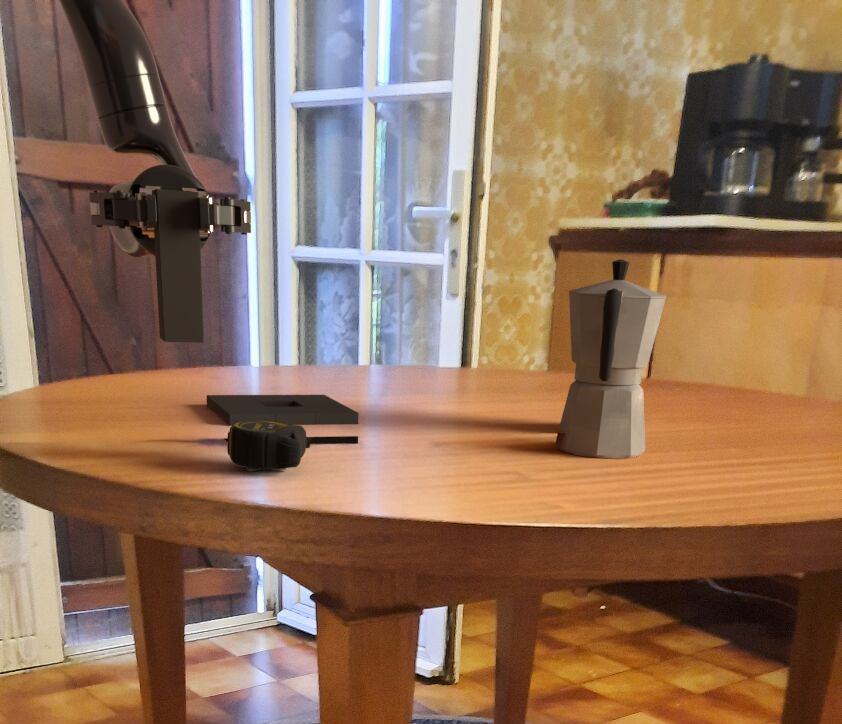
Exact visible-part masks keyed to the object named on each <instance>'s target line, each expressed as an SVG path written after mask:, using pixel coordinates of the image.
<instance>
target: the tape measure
mask: <svg viewBox="0 0 842 724" xmlns="http://www.w3.org/2000/svg"><path fill="white" fill-rule="evenodd" d="M311 437H312V436H307V431H306V429H305V428H304V427H303V425H286V424H281V423H276V422H267V421H246V422H239V423H236V424H234V425H232V426H230V428H229V431H228V432H227V437H226V438H227V442H226V449H227V454H228V456H229V459H230V461H231V462H232V463H233V464H234V465H236V466H240V467H243V468H245V469H246V471H248V472H253V471H258V470H263V471H265V470H282V471H284V472H285V471H287V469H290V468H296V467H298V466H299V465H300V463H301V460H302V458H303V457H304V455H305V453H306V450H307V449H310V447H311V444H310V443H309V440H310V439H311Z"/></svg>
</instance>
